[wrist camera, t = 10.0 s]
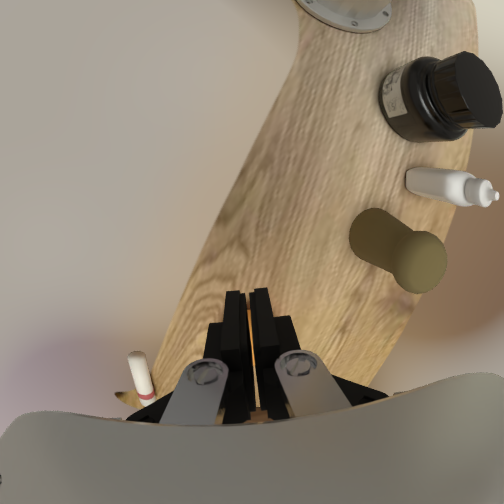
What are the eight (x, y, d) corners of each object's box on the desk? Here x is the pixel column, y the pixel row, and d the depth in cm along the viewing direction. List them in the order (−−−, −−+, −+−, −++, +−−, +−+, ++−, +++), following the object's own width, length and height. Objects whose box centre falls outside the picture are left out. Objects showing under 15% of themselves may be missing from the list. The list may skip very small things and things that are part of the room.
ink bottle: (399, 56, 22) (462, 23, 10) (447, 108, 24) (515, 99, 12) (361, 105, 24) (428, 78, 13) (415, 160, 26) (490, 166, 14)
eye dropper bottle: (428, 209, 28) (500, 234, 16) (398, 183, 27) (474, 198, 15) (442, 180, 26) (515, 194, 15) (413, 152, 25) (489, 154, 14)
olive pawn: (359, 270, 29) (409, 318, 19) (340, 223, 28) (392, 255, 17) (401, 245, 29) (460, 281, 18) (385, 198, 27) (450, 218, 17)
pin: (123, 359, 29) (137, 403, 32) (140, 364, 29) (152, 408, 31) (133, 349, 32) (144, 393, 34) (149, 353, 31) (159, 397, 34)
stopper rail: (230, 409, 35) (229, 424, 32) (298, 402, 35) (301, 417, 32) (232, 417, 36) (231, 432, 33) (298, 410, 36) (301, 424, 33)
